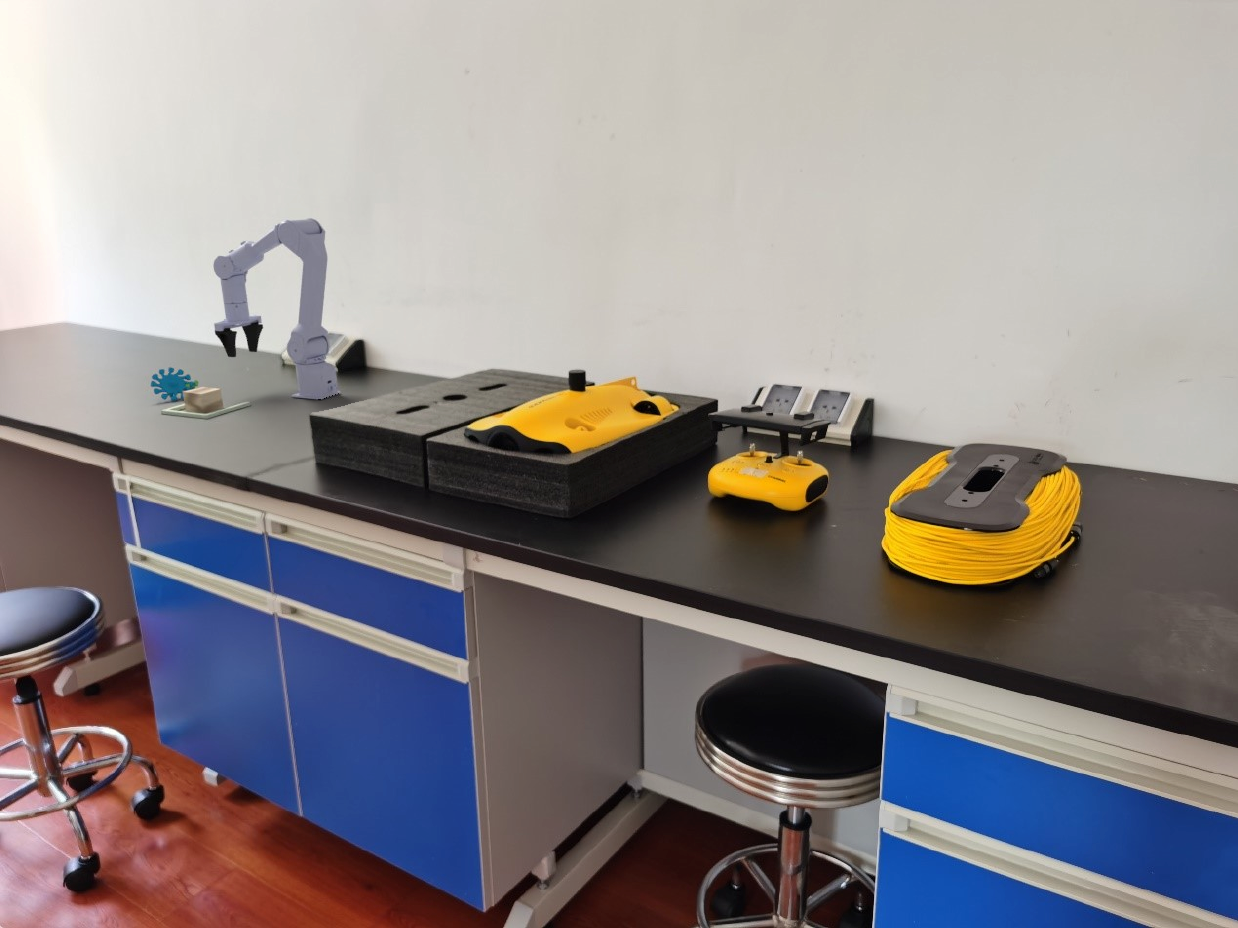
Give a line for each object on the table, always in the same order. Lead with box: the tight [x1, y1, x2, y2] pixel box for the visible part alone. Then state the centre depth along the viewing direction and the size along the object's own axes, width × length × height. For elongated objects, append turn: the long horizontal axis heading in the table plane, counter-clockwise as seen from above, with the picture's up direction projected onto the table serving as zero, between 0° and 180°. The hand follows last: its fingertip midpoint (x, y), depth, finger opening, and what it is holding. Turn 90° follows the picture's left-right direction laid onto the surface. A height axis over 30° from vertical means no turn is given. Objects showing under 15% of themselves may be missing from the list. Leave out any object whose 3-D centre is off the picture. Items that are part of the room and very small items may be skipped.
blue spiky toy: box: [150, 366, 199, 402], centre depth 234 cm, size 11×6×10 cm
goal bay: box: [160, 401, 251, 420], centre depth 221 cm, size 14×14×1 cm
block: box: [183, 386, 224, 414], centre depth 220 cm, size 6×6×5 cm
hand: (242, 354), depth 240 cm, fingers open, 7 cm apart
